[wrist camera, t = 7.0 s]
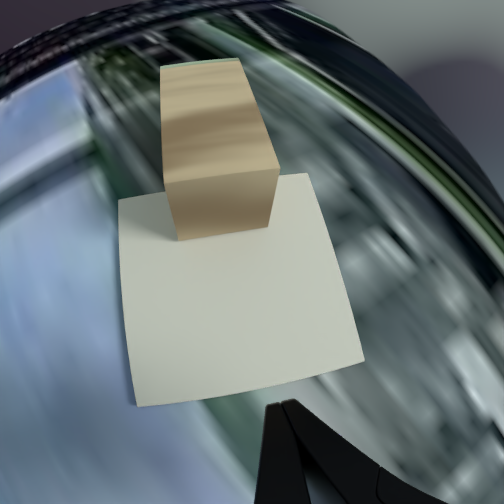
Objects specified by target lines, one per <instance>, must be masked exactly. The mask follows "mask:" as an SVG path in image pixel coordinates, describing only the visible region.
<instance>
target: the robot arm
mask: <svg viewBox="0 0 504 504" xmlns="http://www.w3.org/2000/svg"><path fill="white" fill-rule="evenodd" d="M311 502H312V504H448V503H446V502H443V501H441V500H439V499H437V498H435V497H433V496H431V495H428V494H426V493H424V492H422V491H420V490H418V489H416V488H414V487H413V486H411V485H409V484H407V483H405V482H404V481H402V480H401V479H399V478H397V477H396V476H394V475H393V474H391V473H390V472H389V471H387V470H386V469H384V468H383V467H380V465H379V464H377V463H376V462H375V461H373V460H372V459H371V458H369V457H368V456H366V455H365V454H364V453H362V452H361V451H360V450H358V449H357V448H356V447H355V446H353V445H352V444H351V443H349V442H348V441H347V440H345V439H344V438H343V437H342V436H340V435H339V434H338V433H337V432H335V431H334V430H333V429H331V428H330V427H329V426H328V425H326V424H325V423H324V422H323V421H322V420H320V419H319V418H318V417H317V416H315V415H314V414H313V413H312V412H311V411H309V410H308V409H307V408H306V407H304V406H303V405H302V404H301V403H300V402H299V401H297V400H296V399H288V400H284V401H282V402H281V403H279V402H276V403H271V404H267V405H266V407H265V416H264V425H263V434H262V443H261V451H260V460H259V468H258V476H257V484H256V492H255V499H254V504H311Z"/></svg>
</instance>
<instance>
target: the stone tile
mask: <svg viewBox="0 0 504 504" xmlns="http://www.w3.org/2000/svg"><path fill="white" fill-rule="evenodd" d="M118 225H119V257H120V275H121V289H122V302H123V312H124V322H125V331H126V339H127V347H128V355H129V362H130V368H131V375H132V381H133V387H134V393H135V398H136V403H137V407H142V406H153V405H162V404H171V403H179V402H186V401H193V400H200V399H207V398H213V397H219V396H225V395H230V394H236V393H241V392H246V391H251V390H256V389H261V388H266V387H270V386H275V385H279V384H283V383H288V382H292V381H296V380H300V379H304V378H308V377H312V376H315V375H319V374H323V373H326V372H330V371H333V370H337V369H340V368H344V367H347V366H350V365H354V364H357V363H360V362H363V361H365V360H364V356H363V352H362V348H361V344H360V340H359V336H358V332H357V329H356V325H355V321H354V318H353V314H352V310H351V307H350V303H349V300H348V296H347V293H346V289H345V286H344V282H343V279H342V276H341V272H340V269H339V266H338V262H337V259H336V256H335V253H334V250H333V246H332V243H331V240H330V237H329V234H328V231H327V228H326V225H325V222H324V219H323V216H322V213H321V210H320V207H319V204H318V201H317V198H316V196H315V193H314V190H313V187H312V184H311V182H310V179H309V176H308V173H300V174H290V175H281V176H279V177H278V182H277V186H276V191H275V196H274V201H273V205H272V210H271V215H270V220H269V224H268V227H265V228H258V229H252V230H245V231H238V232H232V233H225V234H219V235H213V236H206V237H200V238H194V239H188V240H182V241H179V240H178V236H177V232H176V229H175V225H174V221H173V217H172V214H171V210H170V206H169V202H168V198H167V194H166V191H164V192H158V193H152V194H147V195H141V196H136V197H130V198H125V199H120V200H118Z"/></svg>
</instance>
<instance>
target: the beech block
mask: <svg viewBox="0 0 504 504" xmlns="http://www.w3.org/2000/svg"><path fill="white" fill-rule="evenodd" d="M160 99H161V137H162V159H163V177H164V186H165V190H166V194H167V198H168V202H169V206H170V210H171V214H172V217H173V221H174V225H175V229H176V232H177V236H178V240H179V241H182V240H188V239H194V238H200V237H206V236H213V235H219V234H225V233H232V232H238V231H245V230H252V229H258V228H265V227H268V224H269V220H270V215H271V210H272V205H273V201H274V196H275V191H276V186H277V182H278V177H279V172H280V166H279V163H278V160H277V157H276V155H275V152H274V149H273V146H272V144H271V141H270V138H269V135H268V133H267V130H266V127H265V125H264V122H263V119H262V117H261V114H260V111H259V109H258V106H257V103H256V101H255V98H254V96H253V93H252V91H251V88H250V86H249V83H248V80H247V78H246V75H245V73H244V71H243V68H242V66H241V63H240V61H239V58H230V59H217V60H207V61H197V62H189V63H181V64H174V65H167V66H161V67H160Z"/></svg>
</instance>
